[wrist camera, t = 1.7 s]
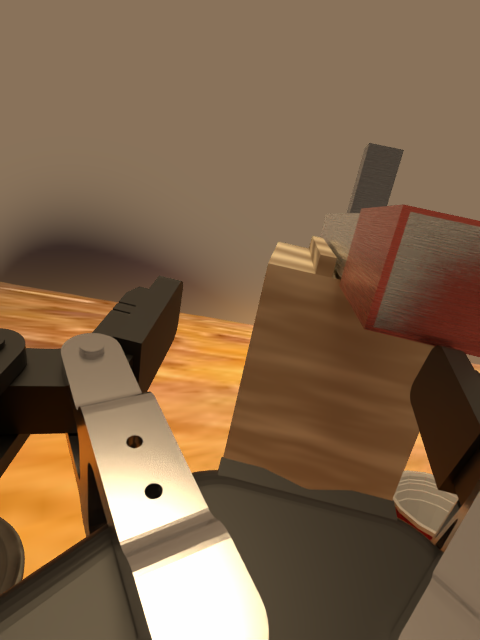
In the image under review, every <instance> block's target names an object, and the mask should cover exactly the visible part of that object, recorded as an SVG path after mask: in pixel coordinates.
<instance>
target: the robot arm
mask: <svg viewBox="0 0 480 640" xmlns="http://www.w3.org/2000/svg"><path fill="white" fill-rule="evenodd" d="M182 290H183V282H182V281H179V280H175V279H171V278H166V277H163V276H159V277H158V278H157V279H156V280H155V282H154V283H153V284H152V286H151V287H150V288H149V289H147V288H143V287H138V288H135V289H133V290H131V291H129V292H127V293H126V294H125V295H124V296H123V297H122V298H121V300H120V301H119V303H117V304H116V305H115V307H114V308H113V310H111V311H110V313H109V314H108V315H107V316H106V317H105V318H104V320H103V321H102V322H101V323H100V324H99V325H98V327H97V328H96V329H95V330H94V331H93V332H92V333H86V334H81V335H77V336H75V337H72V338H70V339H69V340H67V341H66V342H65V343H64V344H63V346H62V348H61V349H34V348H26V346H25V340H24V338H23V337H22V336H21V335H20V334H19V333H17V332H15V331H12V330H9V329H1V328H0V478H1V476H2V475H3V473H4V472H5V470H6V469H7V467H8V466H9V465H10V463H11V462H12V460H13V459H14V457H15V456H16V454H17V453H18V452H19V450H20V449H21V447H22V446H23V444H24V443H25V441H26V440H27V438H28V437H29V436H30V434H52V433H65V434H66V439H67V443H68V447H69V452H70V456H71V460H72V464H73V469H74V473H75V477H76V482H77V486H78V490H79V496H80V503H81V511H82V518H83V523H84V528H85V533H86V538H84V539H83V540H81V541H80V542H78V543H77V544H75V545H74V546H72V547H71V548H69V549H68V550H66V551H65V552H63V553H62V554H60V555H59V556H57V557H56V558H54V559H53V560H51V561H50V562H48V563H47V564H45V565H44V566H42V567H41V568H39V569H38V570H36V571H35V572H33V573H32V574H30V575H29V576H27V577H26V578H25V579H23V580H22V581H20V582H19V583H17V584H16V585H14V586H13V587H11V588H10V589H8V590H7V591H5V592H4V593H2V594H1V595H0V640H480V373H479V372H478V371H476V370H474V368H473V366H472V364H471V363H470V361H469V359H468V358H467V356H466V354H465V352H464V351H461V350H457V349H453V348H449V347H445V346H441V345H436V346H434V347H433V349H432V350H431V351H430V353H429V355H428V357H427V359H426V360H425V362H424V364H423V366H422V367H421V369H420V371H419V373H418V375H417V376H416V378H415V380H414V382H413V384H412V387H411V391H410V402H411V405H412V408H413V412H414V415H415V418H416V421H417V424H418V428H419V431H420V434H421V437H422V441H423V444H424V447H425V450H426V453H427V457H428V460H429V463H430V466H431V469H432V473H433V476H434V479H435V482H436V486H437V489H438V490H440V491H444V492H448V493H452V494H456V495H457V496H458V500H457V501H456V503H455V504H454V505H453V506H452V508H451V509H450V511H449V513H448V514H447V516H446V517H445V519H444V520H443V522H442V524H441V525H440V527H439V528H438V530H437V532H436V533H435V535H434V536H433V538H432V539H431V541H430V540H429V539H428V538H427V537H426V536H425V535H423V534H422V533H421V532H420V531H418V530H417V529H416V528H414V527H413V526H411V525H410V524H408V523H406V522H405V521H403V520H401V519H400V518H398V517H397V514H396V509H395V504H394V501H391V500H387V499H383V498H380V497H376V496H372V495H368V494H364V493H360V492H356V491H352V490H312V489H306V488H303V487H301V486H299V485H297V484H295V483H293V482H291V481H289V480H287V479H285V478H283V477H281V476H279V475H277V474H275V473H273V472H271V471H269V470H267V469H265V468H262V467H258V466H254V465H250V464H247V463H243V462H239V461H235V460H231V459H227V458H223V457H222V458H221V461H220V465H219V469H218V470H207V471H199V472H194V473H191V471H190V469H189V467H188V465H187V463H186V461H185V458H184V456H183V454H182V452H181V450H180V448H179V446H178V444H177V442H176V440H175V438H174V436H173V433H172V431H171V429H170V427H169V425H168V423H167V421H166V419H165V417H164V415H163V413H162V410H161V408H160V406H159V404H158V402H157V400H156V398H155V396H154V395H153V394H152V393H151V392H147V390H148V389H149V387H150V385H151V383H152V381H153V379H154V377H155V375H156V373H157V371H158V369H159V367H160V365H161V363H162V362H163V360H164V358H165V356H166V354H167V352H168V350H169V348H170V346H171V344H172V342H173V340H174V337H175V334H176V331H177V327H178V320H179V313H180V306H181V297H182Z"/></svg>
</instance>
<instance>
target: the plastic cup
mask: <svg viewBox="0 0 480 640" xmlns="http://www.w3.org/2000/svg"><path fill="white" fill-rule="evenodd" d="M457 500H458V496H457V495H456V494H452V493H448V492H444V491H440V490H438V489H437V486H436V482H435V479H434V476H433V475H432V474H428V473H425V472H416V471H403V474H402V476H401V479H400V481H399V484H398V486H397V489H396V492H395V494H394V497H393V499H392V501H394V504H395V509H396V514H397V517H398V518H400V519H401V520H403V521H405V522H406V523H408V524H410V525H411V526H413V527H414V528H416V529H417V530H418V531H420V532H421V533H422V534H423V535H425V536H426V537H427V538H428V539H429V540H430V541H431V539H432V538H433V536H434V535H435V533H436V532H437V530H438V528H439V527H440V525H441V524H442V522H443V520H444V519H445V517H446V516H447V514H448V513H449V511H450V509H451V508H452V506H453V505H454V504H455V503H456V501H457Z"/></svg>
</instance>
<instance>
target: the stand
mask: <svg viewBox="0 0 480 640" xmlns="http://www.w3.org/2000/svg"><path fill="white" fill-rule="evenodd" d="M336 261H337V257H336V256H335V254H334V253H333V252H332V250H331V249H330V247H329V246H328V245H327V243H326V242H325V240H324V239H323V238H320V237H315V236H312V239H311V243H310V247H309V249H308V248H304V247H300V246H295V245H291V244H286V243H282V242H278V244H277V246H276V248H275V250H274V252H273V254H272V256H271V258H270V261H269V263H268V266H267V271H266V275H265V280H264V284H263V288H262V292H261V297H260V301H259V305H258V310H257V315H256V319H255V323H254V327H253V331H252V336H251V340H250V344H249V349H248V353H247V357H246V361H245V366H244V370H243V374H242V379H241V383H240V387H239V392H238V396H237V400H236V405H235V409H234V413H233V418H232V422H231V426H230V431H229V435H228V439H227V444H226V448H225V452H224V457H223V458H227V459H231V460H235V461H239V462H243V463H247V464H250V465H254V466H258V467H262V468H265V469H267V470H269V471H271V472H273V473H275V474H277V475H279V476H281V477H283V478H285V479H287V480H289V481H291V482H293V483H295V484H297V485H299V486H301V487H303V488H306V489H312V490H352V491H356V492H360V493H364V494H368V495H372V496H376V497H380V498H383V499H387V500H391V501H392V499H393V497H394V494H395V492H396V489H397V486H398V484H399V481H400V479H401V476H402V474H403V471H404V469H405V466H406V464H407V461H408V459H409V456H410V454H411V451H412V449H413V446H414V444H415V441H416V439H417V436H418V434H419V428H418V424H417V421H416V418H415V415H414V412H413V408H412V405H411V402H410V391H411V387H412V384H413V382H414V380H415V378H416V376H417V375H418V373H419V371H420V369H421V367H422V366H423V364H424V362H425V360H426V359H427V357H428V355H429V353H430V351H431V350H432V349H433V347H434V346H432V345H427V344H423V343H419V342H415V341H411V340H407V339H403V338H398V337H394V336H390V335H386V334H382V333H378V332H374V331H369V330H365V329H364V328H363V326H362V325H361V323H360V321H359V319H358V318H357V316H356V314H355V312H354V311H353V309H352V307H351V305H350V304H349V302H348V300H347V298H346V297H345V295H344V293H343V291H342V290H341V288H340V286H339V285H340V281H341V277H340V276H339V274H338V273H337V271H336V270H335V264H336Z"/></svg>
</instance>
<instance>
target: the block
mask: <svg viewBox="0 0 480 640" xmlns="http://www.w3.org/2000/svg"><path fill="white" fill-rule="evenodd" d="M403 151H404V150H401V149H396V148H391V147H386V146H381V145H377V144H372V143H369V144H368V145H367V146H366V147H365V149H364V154H363V157H362V160H361V164H360V167H359V171H358V174H357V178H356V182H355V185H354V189H353V193H352V196H351V200H350V204H349V207H348V210H347V213H346V214H327V215H326V218H325V222H324V225H323V230H322V233H321V237H320V238H323V239H324V240H325V242H326V243H327V245H328V246H329V247H330V249H331V250H332V252H333V253H334V254H335V256H336V257H337V261H336V264H335V270H336V271H337V273H338V274H339V276H340V277H341V281H340V285H339V286H340V288H341V290H342V291H343V293H344V295H345V297H346V298H347V300H348V302H349V304H350V305H351V307H352V309H353V311H354V312H355V314H356V316H357V318H358V319H359V321H360V323H361V325H362V326H363V328H364V329H365V330H369V331H374V332H378V333H382V334H386V335H390V336H394V337H398V338H403V339H407V340H411V341H415V342H419V343H423V344H427V345H432V346H436V345H441V346H445V347H449V348H453V349H457V350H461V351H464V352H465V354H469V355H473V356H477V357H480V221H477V220H472V219H468V218H463V217H459V216H454V215H449V214H445V213H440V212H435V211H430V210H426V209H421V208H417V207H412V206H408V205H394V206H387V204H388V200H389V197H390V194H391V190H392V187H393V184H394V180H395V177H396V174H397V170H398V167H399V164H400V161H401V157H402V154H403Z"/></svg>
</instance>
